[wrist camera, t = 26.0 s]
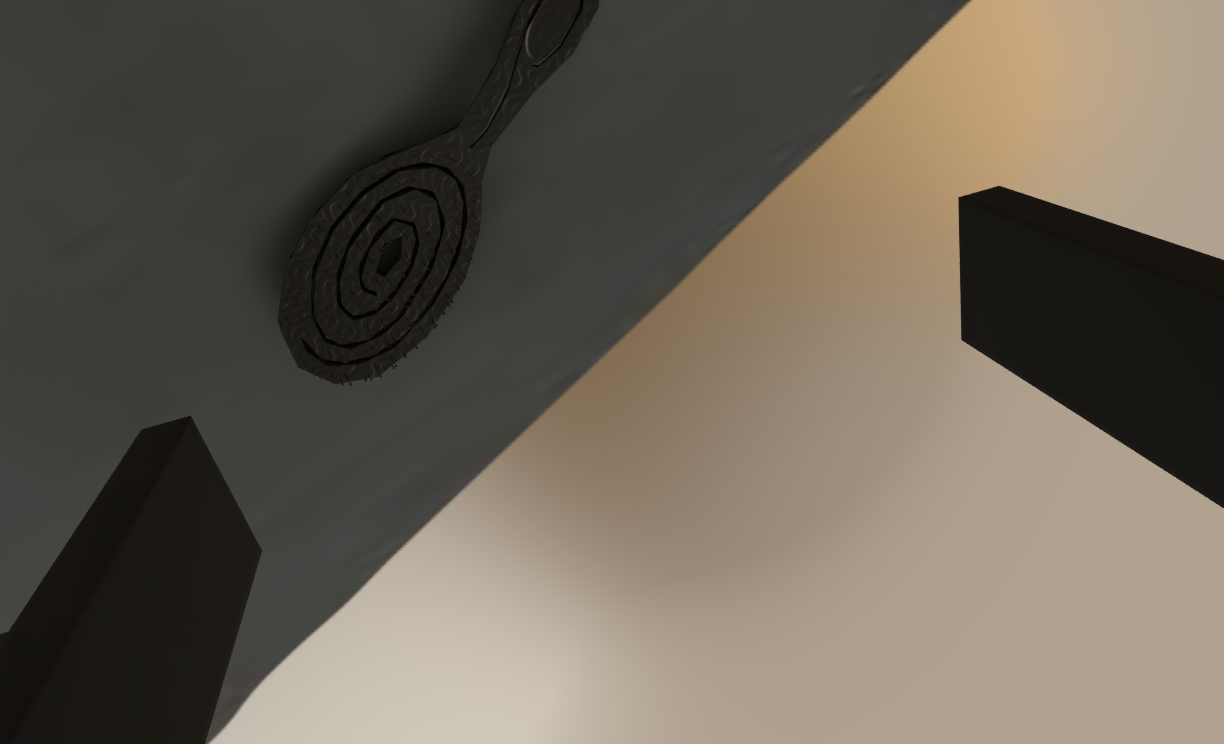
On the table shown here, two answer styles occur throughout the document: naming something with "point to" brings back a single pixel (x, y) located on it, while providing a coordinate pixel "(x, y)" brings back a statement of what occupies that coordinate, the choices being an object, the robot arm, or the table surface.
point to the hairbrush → (412, 219)
